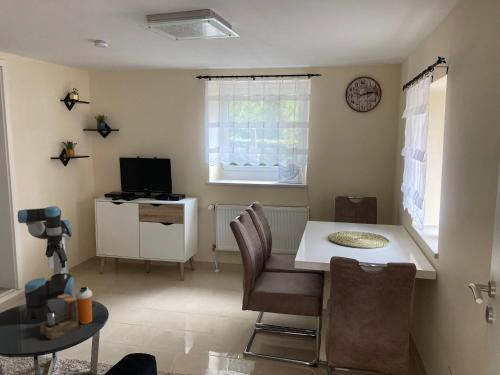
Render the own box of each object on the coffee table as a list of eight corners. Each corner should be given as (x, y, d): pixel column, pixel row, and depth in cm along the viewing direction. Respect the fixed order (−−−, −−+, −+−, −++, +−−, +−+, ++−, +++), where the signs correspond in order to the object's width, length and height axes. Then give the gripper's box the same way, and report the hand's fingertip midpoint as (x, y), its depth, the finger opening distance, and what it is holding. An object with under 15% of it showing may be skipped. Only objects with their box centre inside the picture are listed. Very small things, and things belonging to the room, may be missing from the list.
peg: (47, 333, 226) (45, 313, 225) (54, 331, 229) (52, 310, 228) (51, 335, 224) (49, 315, 222) (57, 333, 227) (56, 312, 225)
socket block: (40, 333, 227) (37, 302, 225) (68, 322, 240) (66, 293, 237) (51, 339, 220) (48, 308, 217) (79, 328, 232) (76, 298, 230)
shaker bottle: (77, 326, 235) (75, 292, 232) (77, 319, 243) (75, 287, 240) (94, 323, 238) (92, 290, 236) (93, 316, 247) (91, 285, 244)
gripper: (37, 232, 234) (40, 267, 237) (58, 239, 218) (61, 277, 221) (50, 229, 239) (53, 264, 242) (72, 236, 224) (75, 273, 227)
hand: (57, 270), depth 232 cm, fingers open, 13 cm apart
